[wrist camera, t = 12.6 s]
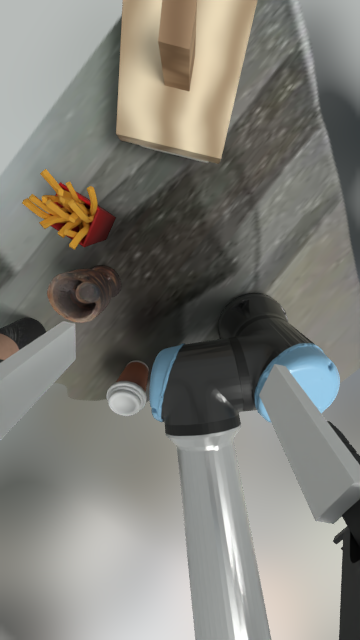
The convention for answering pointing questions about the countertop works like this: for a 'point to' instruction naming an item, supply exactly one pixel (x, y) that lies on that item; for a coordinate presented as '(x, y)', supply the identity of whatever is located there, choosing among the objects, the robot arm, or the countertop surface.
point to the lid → (181, 73)
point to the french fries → (72, 213)
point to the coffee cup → (129, 389)
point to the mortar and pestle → (83, 292)
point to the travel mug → (19, 336)
